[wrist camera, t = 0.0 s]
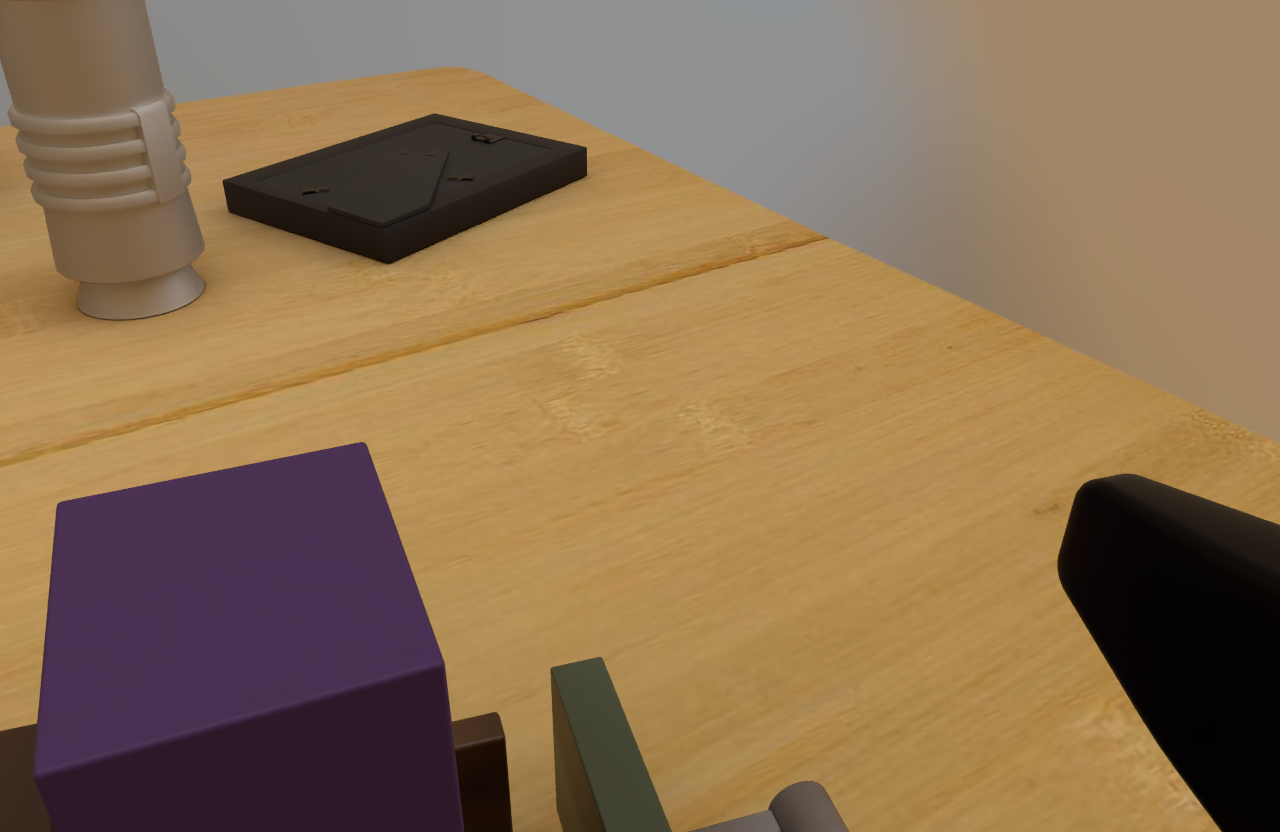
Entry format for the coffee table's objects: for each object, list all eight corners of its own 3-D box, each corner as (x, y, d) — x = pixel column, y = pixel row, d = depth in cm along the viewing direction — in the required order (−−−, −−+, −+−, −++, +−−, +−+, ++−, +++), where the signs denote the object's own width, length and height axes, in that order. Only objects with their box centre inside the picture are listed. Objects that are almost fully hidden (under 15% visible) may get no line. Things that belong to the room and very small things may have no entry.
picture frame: (388, 264, 56) (587, 175, 69) (383, 224, 55) (586, 141, 67) (227, 211, 62) (436, 139, 75) (220, 175, 61) (434, 108, 74)
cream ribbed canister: (148, 334, 49) (58, -10, 41) (33, 310, 51) (-74, -22, 43) (244, 277, 54) (181, -35, 46) (137, 257, 56) (58, -45, 48)
